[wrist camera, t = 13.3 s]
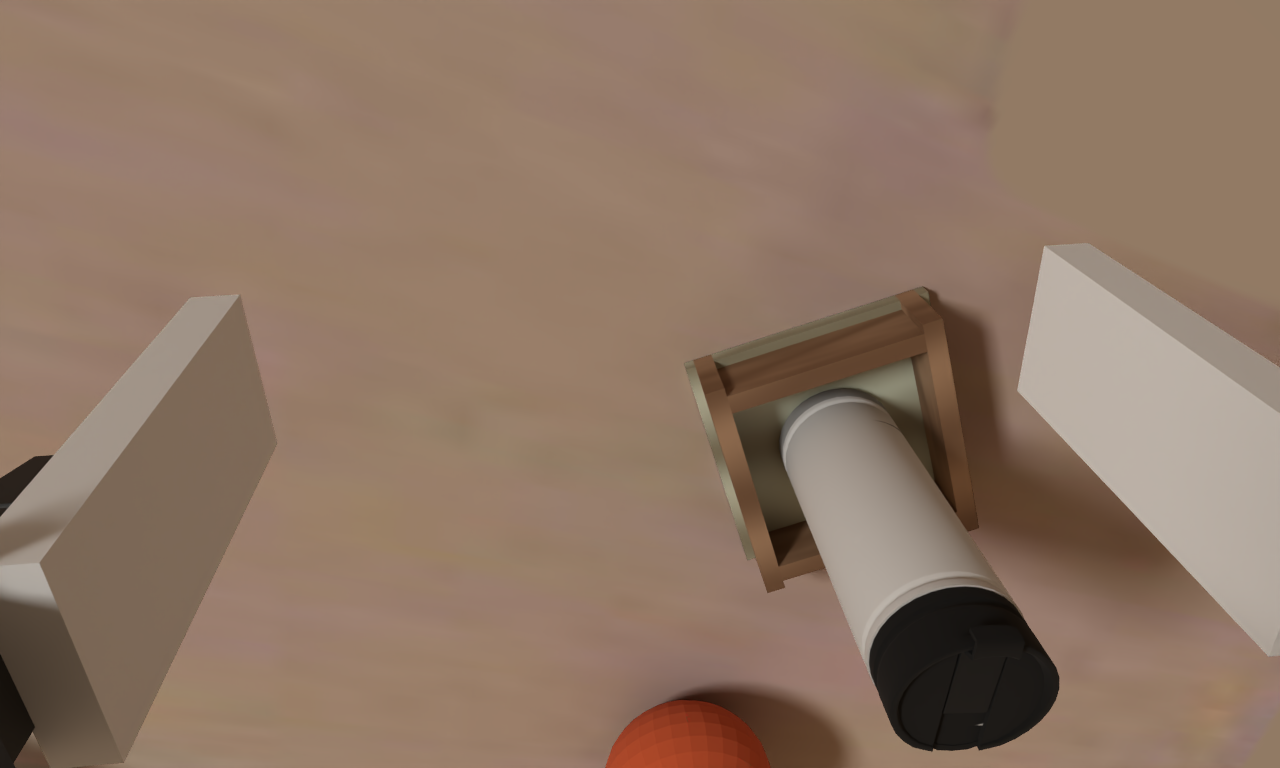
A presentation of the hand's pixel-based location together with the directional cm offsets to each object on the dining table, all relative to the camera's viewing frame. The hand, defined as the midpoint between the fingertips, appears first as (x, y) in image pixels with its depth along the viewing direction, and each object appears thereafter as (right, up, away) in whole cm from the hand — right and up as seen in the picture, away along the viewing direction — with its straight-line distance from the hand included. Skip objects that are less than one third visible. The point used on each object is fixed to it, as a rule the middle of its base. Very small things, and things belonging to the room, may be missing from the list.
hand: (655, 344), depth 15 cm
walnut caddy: (+10, -3, +36) cm, 38 cm away
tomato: (+2, -23, +45) cm, 51 cm away
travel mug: (+10, -3, +35) cm, 37 cm away
